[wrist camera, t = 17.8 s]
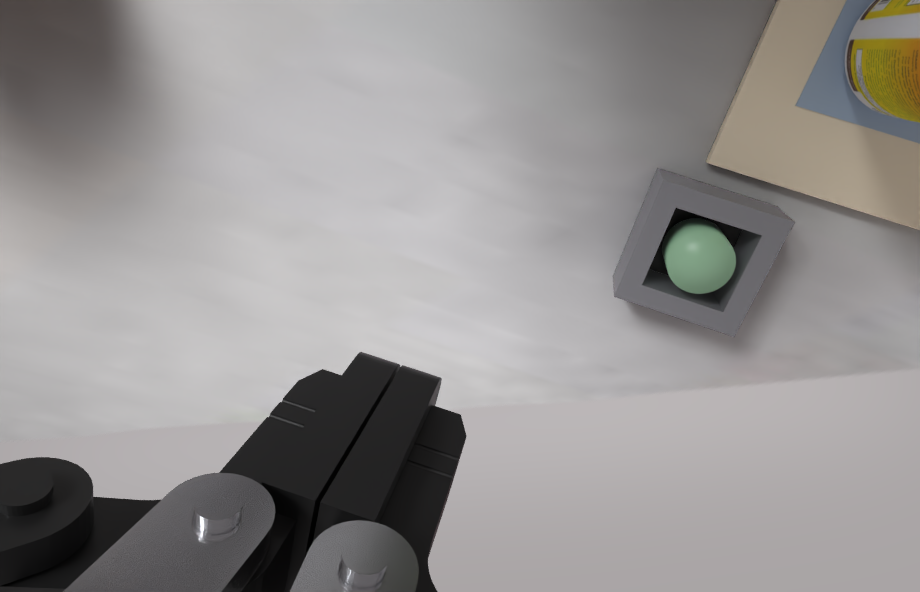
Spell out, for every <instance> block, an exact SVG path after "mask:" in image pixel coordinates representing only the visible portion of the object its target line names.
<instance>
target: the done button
mask: <svg viewBox="0 0 920 592" xmlns="http://www.w3.org/2000/svg"><path fill="white" fill-rule="evenodd" d="M662 254H663V258H664V261H665V265H666V268H667V271H668V274H669V277H670V278H671V280H672V281H673V283H674V284H675V285H676V286H677V287H679V288H680V289H682V290H684V291H686V292H690V293H695V294H704V293H709V292H712V291H715V290H717V289H719V288H720V287H722V286H723V285H724V284H726V283H727V282H728V280H729V279H730V278H731V276H732V275H733V272H734V270H735V266H736V256H735V252H734V249H733V247H732V246H731V244H730V243H729V241H728V240H727V238H726V237H725V235H724V234H723V232H722V231H721V229H720V228H719V227H718V226H717V225H716V224H714V223H713V222H711V221H709V220H706V219H701V218H691V219H686V220H683V221H681V222H679V223H677V224H676V225H674V226H673V227H672V228H671V229H670V230H669V231H668V232H667V234H666V236H665V238H664V240H663V244H662Z"/></svg>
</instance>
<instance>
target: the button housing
mask: <svg viewBox="0 0 920 592" xmlns="http://www.w3.org/2000/svg"><path fill="white" fill-rule="evenodd" d="M675 208H679V209H682V210H685V211H688V212H691V213H694V214H697V215H700V216H703V217H706V218H709V219H713V220H716V221H719V222H722V223H725V224H728V225H731V226H734V227H737V228H740V229H743V230H742V232H741V234H740V236H739V238H738V240H737V242H736V244H735V246H734V248H733V249H734V252H735V256H736V266H735V270H734V272H733V275H732V276H731V278H730V279H729V280H728V282H727V283H726V284H724V285H723V286H722V287H720V288H719V289H717V290H715V291H712V292H709V293H704V294H695V293H690V292H686V291H684V290H682V289H680V288H679V287H677V286H676V285H675V284H674V283H673V281H672V280H671V278H670V277H669V275H666V274H663V273H660V272H657V271H654V270H651V269H649V268H650V265H651V263H652V261H653V259H654V256H655V254H656V252H657V249H658V247H659V245H660V243H661V240H662V238H663V236H664V233H665V231H666V229H667V227H668V224H669V222H670V220H671V217H672V215H673V213H674V211H675ZM794 223H795V222H794V221H793V220H792V219H791V218H790V217H789V216H788V215H786V214H785V213H784V212H783V211H782V210H781V209H780V208H779V207H777V206H775V205H771V204H768V203H765V202H762V201H759V200H756V199H753V198H749V197H746V196H743V195H740V194H737V193H734V192H731V191H728V190H724V189H721V188H718V187H715V186H712V185H709V184H706V183H703V182H699V181H696V180H693V179H690V178H687V177H684V176H681V175H677V174H674V173H671V172H668V171H665V170H662V169H659V168H657V171H656V173H655V176H654V178H653V180H652V183H651V185H650V188H649V190H648V193H647V195H646V197H645V200H644V202H643V205H642V207H641V209H640V212H639V214H638V217H637V219H636V222H635V224H634V226H633V229H632V231H631V234H630V236H629V239H628V241H627V243H626V246H625V248H624V251H623V253H622V255H621V258H620V260H619V263H618V265H617V268H616V270H615V272H614V275H613V285H614V297H617V298H620V299H623V300H626V301H629V302H632V303H635V304H638V305H641V306H644V307H647V308H649V309H652V310H655V311H658V312H661V313H664V314H667V315H670V316H673V317H676V318H679V319H682V320H685V321H688V322H691V323H694V324H697V325H700V326H703V327H706V328H709V329H712V330H714V331H717V332H720V333H723V334H726V335H729V336H732V337H735V335H736V333H737V331H738V329H739V327H740V326H741V324H742V322H743V320H744V318H745V316H746V314H747V312H748V310H749V308H750V306H751V305H752V303H753V301H754V299H755V297H756V295H757V293H758V291H759V289H760V287H761V286H762V284H763V282H764V280H765V278H766V276H767V274H768V272H769V270H770V268H771V267H772V265H773V263H774V261H775V259H776V257H777V255H778V253H779V251H780V249H781V248H782V246H783V244H784V242H785V240H786V238H787V236H788V234H789V232H790V230H791V229H792V227H793V225H794Z"/></svg>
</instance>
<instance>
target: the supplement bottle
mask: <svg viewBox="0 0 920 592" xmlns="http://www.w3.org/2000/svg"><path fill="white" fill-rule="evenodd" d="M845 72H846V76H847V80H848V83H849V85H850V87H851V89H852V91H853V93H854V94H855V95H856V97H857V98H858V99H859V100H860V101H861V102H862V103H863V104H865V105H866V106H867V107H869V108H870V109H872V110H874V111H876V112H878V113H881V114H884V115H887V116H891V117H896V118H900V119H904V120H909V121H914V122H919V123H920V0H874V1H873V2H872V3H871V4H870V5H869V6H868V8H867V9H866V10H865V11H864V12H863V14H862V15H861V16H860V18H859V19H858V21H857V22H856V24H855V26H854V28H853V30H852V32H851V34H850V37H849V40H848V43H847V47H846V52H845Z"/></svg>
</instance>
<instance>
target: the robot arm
mask: <svg viewBox="0 0 920 592" xmlns="http://www.w3.org/2000/svg"><path fill="white" fill-rule="evenodd" d="M440 385H441V378H440V377H437V376H434V375H431V374H428V373H425V372H422V371H419V370H415V369H412V368H409V367H406V366H401V367H400V365H399V364H397V363H393V362H390V361H387V360H384V359H381V358H378V357H375V356H372V355H369V354H366V353H363V352H360V353H359V354H358V355H357V356H356V357H355V359H354V360H353V361H352V363H351V364H350V365H349V367H348V368H347V369H346V371H345V372H344V373H343V375H342V376H341V375H338V374H335V373H332V372H329V371H326V370H323V369H322V370H320V371H318V372H316V373H314V374H312V375H310V376H307V377H305V378H303V379H301V380H299V381H298V382H297V383H296V384H295V385H294V387H293V388H292V389H291V390H290V391H289V392H288V393H287V395H286V396H285V397H284V398H283V401H282V402H280V403H279V404H278V405H277V406H276V407H275V409H274V410H273V411H272V412H271V413H270V416H269V417H267V418H266V419H265V420H264V421H263V423H262V424H261V425H260V426H259V427H258V428H257V430H256V431H255V432H254V433H253V434H252V435H251V436H250V438H249V439H248V440H247V441H246V442H245V443H244V445H243V446H242V447H241V448H240V449H239V451H238V452H237V453H236V454H235V455H234V456H233V457H232V459H231V460H230V461H229V462H228V463H227V464H226V466H225V467H224V468H223V469H222V470H221V471H220V472H219V473H212V474H206V475H202V476H198V477H195V478H192V479H190V480H187V481H185V482H183V483H182V484H180V485H178V486H177V487H176V488H174V489H173V490H172V491H171V492H169V493H168V494H167V495H166V496H165V497H164V498H163V499H162V500H130V499H115V498H102V497H93V484H92V480H91V478H90V477H89V475H88V473H87V472H86V471H85V470H84V469H83V468H81V467H80V466H78V465H77V464H74V463H72V462H69V461H66V460H62V459H57V458H49V457H45V458H44V457H41V458H40V457H39V458H27V459H21V460H16V461H12V462H8V463H3V464H0V592H437V590H436V589H435V587H434V584H433V583H432V580H431V577H430V574H429V569H428V557H429V554H430V550H431V547H432V544H433V541H434V538H435V535H436V532H437V529H438V526H439V523H440V520H441V517H442V513H443V510H444V508H445V504H446V501H447V498H448V495H449V491H450V488H451V485H452V482H453V478H454V475H455V472H456V469H457V466H458V462H459V459H460V456H461V453H462V449H463V446H464V443H465V439H466V433H465V429H464V425H463V422H462V418H461V415H460V414H457V413H454V412H451V411H448V410H445V409H442V408H439V407H436V406H435V404H436V400H437V396H438V393H439V389H440Z"/></svg>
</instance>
